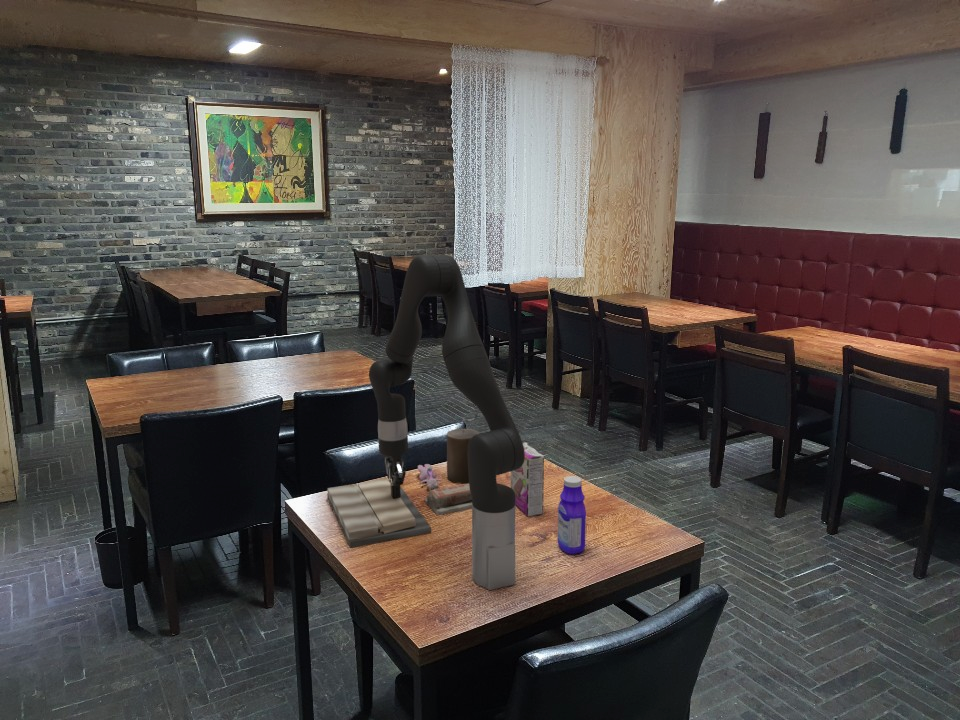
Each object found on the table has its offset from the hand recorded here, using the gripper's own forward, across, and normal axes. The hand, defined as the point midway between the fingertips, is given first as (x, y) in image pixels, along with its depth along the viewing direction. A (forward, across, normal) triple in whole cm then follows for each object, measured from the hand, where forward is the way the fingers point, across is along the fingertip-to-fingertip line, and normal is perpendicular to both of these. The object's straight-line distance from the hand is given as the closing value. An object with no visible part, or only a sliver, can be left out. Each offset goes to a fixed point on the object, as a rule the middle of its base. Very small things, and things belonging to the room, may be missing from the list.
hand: (395, 497), depth 182 cm
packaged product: (+5, -1, -18) cm, 19 cm away
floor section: (+4, 0, +5) cm, 7 cm away
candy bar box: (+5, -11, -33) cm, 35 cm away
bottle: (+5, -35, -33) cm, 48 cm away
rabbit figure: (+5, +15, -14) cm, 21 cm away
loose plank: (+2, 0, +3) cm, 4 cm away
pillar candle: (+5, +15, -25) cm, 29 cm away
